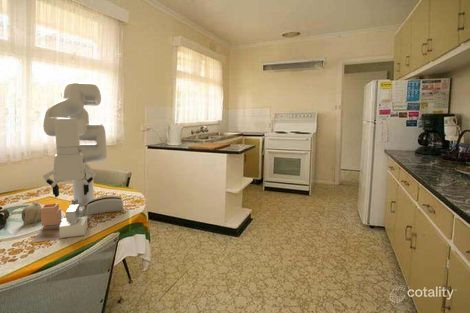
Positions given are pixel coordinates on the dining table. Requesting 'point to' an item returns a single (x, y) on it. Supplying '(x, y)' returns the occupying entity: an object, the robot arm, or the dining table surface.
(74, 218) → the steel key
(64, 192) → the dining table surface
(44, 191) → the dining table surface
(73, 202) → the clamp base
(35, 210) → the grey rounded lump
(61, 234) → the white holed block
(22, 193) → the dining table surface
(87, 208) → the grey arched block
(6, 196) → the dining table surface
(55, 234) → the grey flat plate
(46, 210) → the block
